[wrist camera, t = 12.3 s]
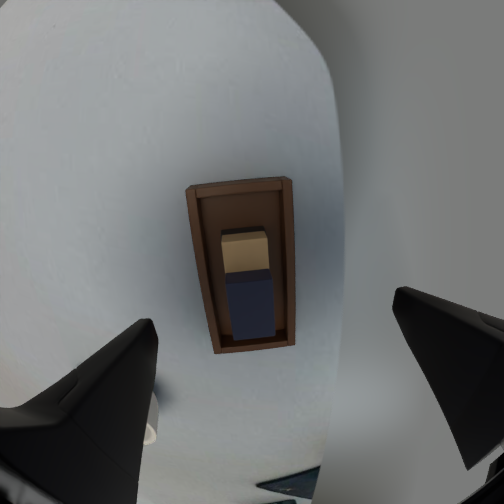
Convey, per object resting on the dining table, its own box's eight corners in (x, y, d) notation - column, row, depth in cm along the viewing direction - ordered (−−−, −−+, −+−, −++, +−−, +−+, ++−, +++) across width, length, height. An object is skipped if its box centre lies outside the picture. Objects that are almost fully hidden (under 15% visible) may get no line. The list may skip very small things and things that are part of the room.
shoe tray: (285, 176, 17) (292, 179, 15) (290, 329, 22) (295, 345, 20) (189, 185, 17) (184, 190, 15) (215, 338, 21) (214, 354, 19)
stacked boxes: (268, 303, 20) (277, 337, 16) (231, 307, 20) (232, 342, 16) (263, 225, 18) (272, 245, 14) (220, 229, 18) (218, 251, 14)
